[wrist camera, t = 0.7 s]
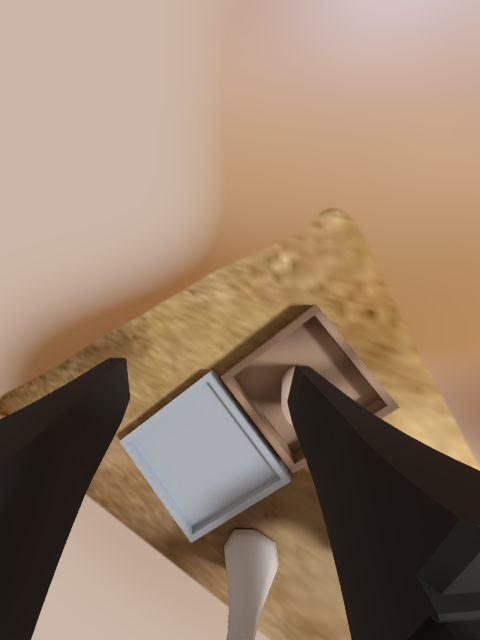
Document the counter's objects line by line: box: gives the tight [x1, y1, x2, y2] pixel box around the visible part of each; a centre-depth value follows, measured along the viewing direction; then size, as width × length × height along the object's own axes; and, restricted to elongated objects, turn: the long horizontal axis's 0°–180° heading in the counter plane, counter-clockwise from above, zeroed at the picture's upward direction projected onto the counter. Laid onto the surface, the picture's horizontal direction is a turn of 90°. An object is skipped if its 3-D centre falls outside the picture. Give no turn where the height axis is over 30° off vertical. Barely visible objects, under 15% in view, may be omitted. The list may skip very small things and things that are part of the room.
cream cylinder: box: [281, 364, 321, 426], centre depth 25 cm, size 5×5×6 cm
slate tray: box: [119, 369, 291, 543], centre depth 30 cm, size 16×16×2 cm
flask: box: [224, 529, 279, 640], centre depth 26 cm, size 7×7×10 cm
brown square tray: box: [221, 305, 400, 474], centre depth 27 cm, size 14×14×2 cm
